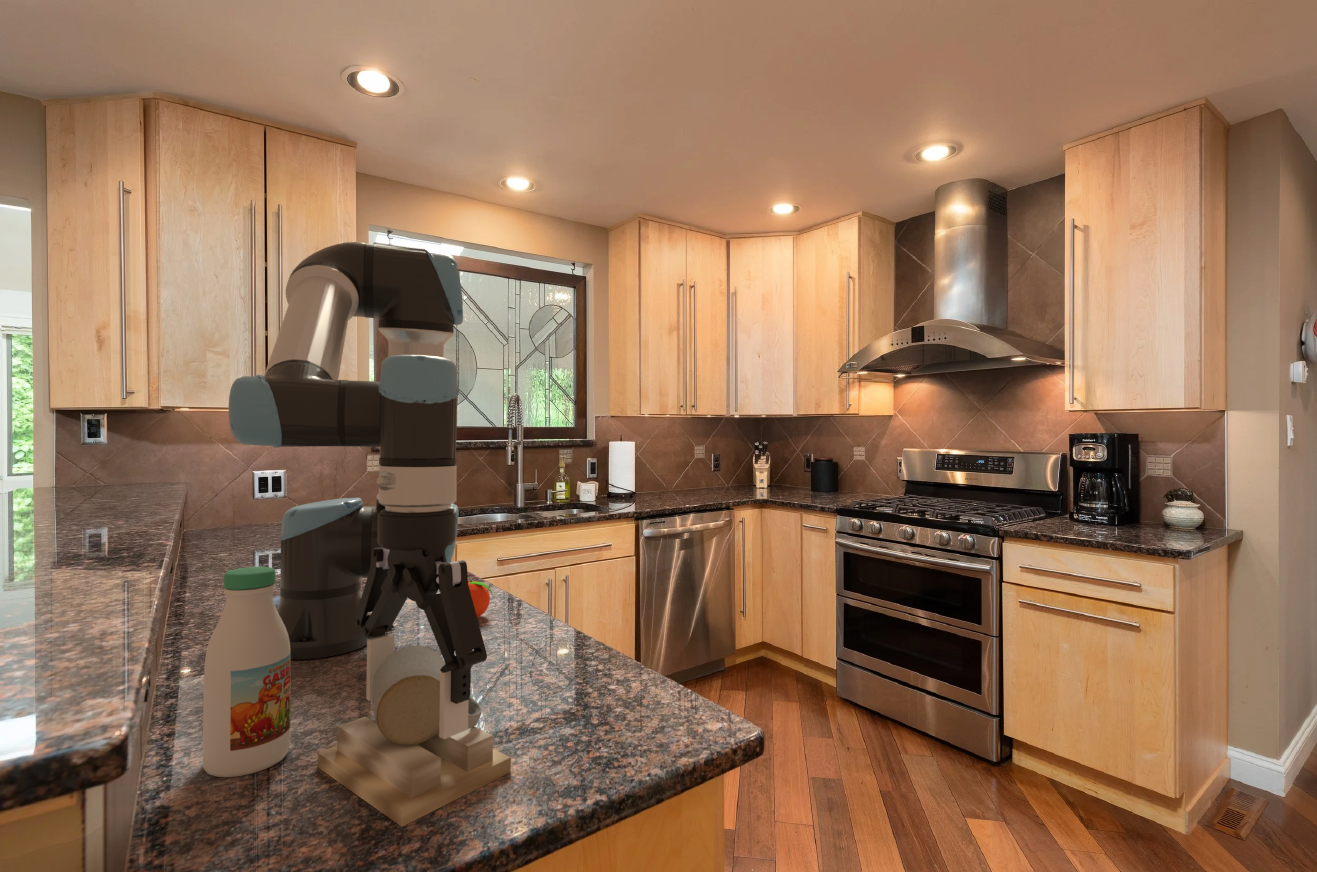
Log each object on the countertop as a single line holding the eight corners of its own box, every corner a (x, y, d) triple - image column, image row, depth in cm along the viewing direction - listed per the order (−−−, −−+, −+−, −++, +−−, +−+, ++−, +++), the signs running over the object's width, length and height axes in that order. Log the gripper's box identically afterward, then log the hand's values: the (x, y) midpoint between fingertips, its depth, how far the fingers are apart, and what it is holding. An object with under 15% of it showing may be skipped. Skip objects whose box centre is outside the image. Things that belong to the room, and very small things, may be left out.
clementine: (501, 615, 123) (502, 577, 123) (483, 625, 117) (484, 586, 117) (463, 612, 125) (464, 575, 125) (443, 622, 118) (444, 583, 118)
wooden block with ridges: (317, 766, 67) (318, 728, 67) (422, 726, 76) (423, 692, 76) (401, 826, 57) (402, 781, 57) (510, 771, 66) (511, 732, 66)
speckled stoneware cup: (372, 756, 61) (375, 675, 61) (371, 721, 68) (374, 648, 68) (487, 738, 65) (490, 662, 65) (474, 706, 73) (476, 638, 73)
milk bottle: (193, 786, 63) (196, 580, 63) (212, 750, 70) (214, 565, 70) (284, 770, 66) (287, 574, 66) (293, 737, 73) (296, 560, 73)
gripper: (323, 500, 71) (320, 693, 71) (458, 522, 56) (455, 767, 56) (387, 496, 77) (385, 674, 77) (526, 514, 62) (523, 736, 62)
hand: (414, 713), depth 66 cm, fingers open, 13 cm apart
